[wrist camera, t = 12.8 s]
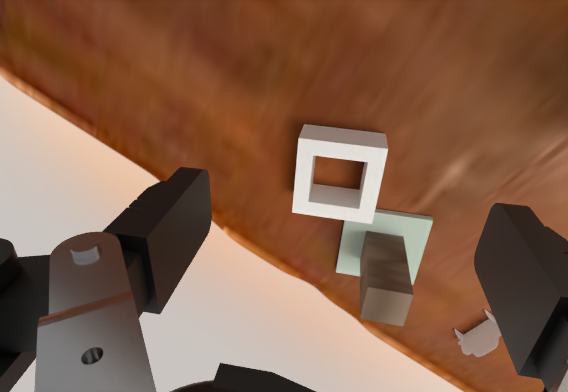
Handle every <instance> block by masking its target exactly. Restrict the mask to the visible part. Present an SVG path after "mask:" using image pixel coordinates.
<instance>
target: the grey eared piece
mask: <svg viewBox="0 0 568 392" xmlns="http://www.w3.org/2000/svg"><path fill="white" fill-rule="evenodd" d="M484 311H485V313H486V315H487V317H488V318H489V319H488V320H486V321H485V322H483V323H481V324H480V325H478V326H477V327H475V328H473V329H472V330H470V331H469V332H467V333H465V334H464V335H463V334H462V333H460V332H459V331H457V330H456V329H454V331H455V334H456V335H457V337H458V338H459V339H460V341H459V342H458V343H459V345H461V348H462V352H463V353H464V354H465V355H470V354H472V353H473V354H474V355H475V356H477V357H481V356H483V355H485V354H487V353H489V352H491V351H492V350H494V349H495V348H496V347H497V346H498V340H499V337H501V336H502V335H501V332H500V330H499V327H498V325H497V322H496V320H495V318H494V316H493V315H492V314H490V313H489V312H488V311H486V310H485V309H484Z"/></svg>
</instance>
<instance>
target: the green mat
mask: <svg viewBox="0 0 568 392" xmlns="http://www.w3.org/2000/svg"><path fill="white" fill-rule="evenodd" d="M432 223H433V218H432V217H431V216H424V215H417V214H410V213H403V212H396V211H389V210H382V209H375V213H374V217H373V222H372V224H367V223H361V222H354V221H347V220H344V226H343V232H342V237H341V243H340V249H339V255H338V261H337V267H336V272H337V273H343V274H349V275H355V276H360V257H361V252H362V248H363V243H364V239H365V235H366V231H372V232H378V233H385V234H391V235H397V236H403V237H404V243H405V248H406V254H407V260H408V266H409V272H410V278H411V283H412V285H413V284H414V281H415V278H416V274H417V271H418V268H419V265H420V261H421V258H422V255H423V252H424V249H425V245H426V242H427V239H428V236H429V233H430V229H431V226H432Z"/></svg>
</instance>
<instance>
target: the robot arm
mask: <svg viewBox="0 0 568 392" xmlns="http://www.w3.org/2000/svg"><path fill="white" fill-rule="evenodd" d="M211 218H212V214H211V199H210V184H209V175H208V172H207V170H205V169H196V168H187V167H180V168H179V169H178V170H177V171H176V172H175V173H174V174H173V175H172V176H171V177H170V178H169V179H168V180H167V181H161V182H159V183H157V184H155V185H153V186H151V187H149V188H147V189H146V190H145V191H144V192H143V193H142V194H141V195H140V196H139V197H138V198H137V200H134V201H133V202H132V203H131V204H130V205H129V208H126V209H125V210H124V211H123V212H122V213H121V214H120V215H119V216H118V217H117V218H116V219H115V220H114V221H113V222H112V223H111V224H110V225H108V226H107V228H106V229H104V230H103V231H102V232H89V233H84V234H80V235H77V236H74V237H72V238H69V239H67V240H65V241H64V242H62V243H61V244H59V245H58V246H57V247H56V248H55V249H54V250H53V251H52V253H51V255H42V256H29V257H18V256H17V254H16V252H15V249H14V246H13V244H12V243H11V242H10V241H8V240H5V239H1V238H0V392H9V391H10V390H11V389H12V388H13V386H14V385H15V384H16V383H17V381H18V380H19V379H20V377H21V376H22V375H23V373H24V372H25V371H26V370H27V368H28V367H29V366H30V365H31V363H32V362H33V361H34V360H35V358H36V372H35V392H156V388H155V384H154V380H153V376H152V372H151V368H150V364H149V359H148V355H147V351H146V347H145V343H144V339H143V334H142V330H141V326H140V322H139V317H140V315H141V314H142V313H143V312H149V313H155V314H160V313H161V312H162V310H163V308H164V307H165V305H166V303H167V302H168V300H169V298H170V297H171V295H172V293H173V292H174V290H175V288H176V287H177V285H178V283H179V282H180V280H181V278H182V276H183V275H184V273H185V272H186V270H187V268H188V266H189V265H190V263H191V262H192V260H193V258H194V257H195V255H196V253H197V251H198V250H199V248H200V247H201V245H202V243H203V242H204V240H205V238H206V237H207V235H208V233H209V229H210V226H211ZM474 265H475V271H476V274H477V276H478V279H479V281H480V283H481V286H482V288H483V291H484V293H485V296H486V298H487V300H488V303H489V305H490V308H491V310H492V313H493V315H494V318H495V320H496V322H497V325H498V327H499V330H500V332H501V335H502V337H503V339H504V342H505V344H506V347H507V349H508V352H509V354H510V357H511V359H512V361H513V364H514V366H515V369H516V371H517V374H518V375H521V376H527V377H533V378H539V379H542V381H543V383H544V385H545V387H544V388H543V390H542V391H541V392H568V241H567V240H566V239H565V238H563V237H562V236H560V235H559V234H557V233H556V232H555V231H553V230H552V229H550V228H549V227H544V225H543V224H542V223H541V221H540V220H539V219H538V218H537V216H536V215H535V214H534V212H533V211H532V210H531V209H530V208H529V207H528V206H521V205H512V204H504V203H496V204H494V205H493V206H492V208H491V210H490V212H489V215H488V218H487V221H486V223H485V226H484V229H483V232H482V234H481V237H480V240H479V243H478V245H477V248H476V252H475V258H474ZM171 392H316V391H313V390H311V389H309V388H307V387H304V386H302V385H300V384H297V383H295V382H293V381H290V380H289V379H286V378H284V377H282V376H280V375H277V374H275V373H273V372H267V371H262V370H256V369H250V368H245V367H240V366H234V365H228V364H223V363H220V365H219V368H218V370H217V373H216V376H215V378H214V380H212V381H203V382H198V383H193V384H190V385H187V386H183V387H180V388H178V389H175V390H173V391H171Z"/></svg>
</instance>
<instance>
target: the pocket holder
mask: <svg viewBox="0 0 568 392" xmlns="http://www.w3.org/2000/svg"><path fill="white" fill-rule="evenodd" d="M387 153H388V145H387V139H386V134H385V133H376V132H368V131H359V130H351V129H342V128H334V127H325V126H317V125H308V124H304V126H303V128H302V131H301V133H300V136H299V139H298V151H297V162H296V174H295V186H294V197H293V209H292V212H293V213H299V214H306V215H313V216H320V217H327V218H333V219H340V220H347V221H354V222H361V223H367V224H372V222H373V217H374V213H375V208H376V204H377V199H378V194H379V190H380V185H381V180H382V176H383V171H384V166H385V162H386V157H387ZM316 156H322V157H330V158H338V159H346V160H354V161H361V162H364V167H363V172H362V178H361V183H360V189H359V190H357V189H349V188H342V187H335V186H328V185H320V184H313V176H314V167H315V158H316Z"/></svg>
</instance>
